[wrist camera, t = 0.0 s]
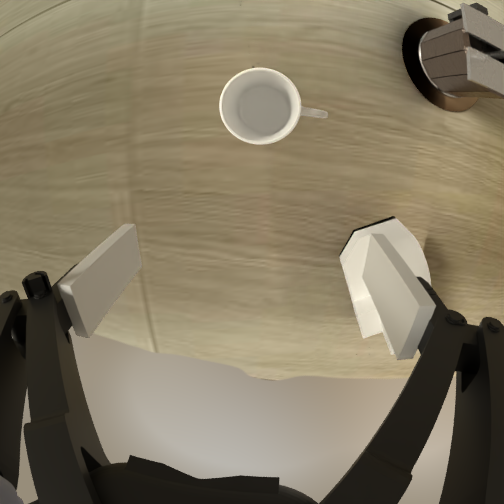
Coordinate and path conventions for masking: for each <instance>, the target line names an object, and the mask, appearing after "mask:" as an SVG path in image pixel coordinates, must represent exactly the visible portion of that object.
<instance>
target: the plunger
mask: <svg viewBox="0 0 504 504" xmlns="http://www.w3.org/2000/svg"><path fill="white" fill-rule="evenodd" d="M469 40H470V47H471V48H474V49H476V50H478V51H480V52H482V53H484V54H486V55H488V56H490V57H492V58H493V59H495V60H497V61H499V60H498V59H501V58H504V50H501V51H495V50H494V48H493V47H492V46H490V45H488V44H486V43H485V42H483V41H481V40H479V39H477V38H475V37H473V36H471V35H469Z"/></svg>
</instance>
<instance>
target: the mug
mask: <svg viewBox="0 0 504 504" xmlns="http://www.w3.org/2000/svg"><path fill="white" fill-rule="evenodd" d="M219 107H220V114H221V118H222V120H223V123H224V124H225V126H226V127H227V129H228V130H229V131H230V132H231V133H232V134H233V135H234V136H236V137H237V138H239V139H240V140H242V141H245V142H248V143H251V144H270V143H274V142H276V141H279V140H281V139H282V138H284V137H286V136H287V135H288V134H289V133H290V132H291V131H292V130H293V129H294V127H295V126H296V124H297V122H298V120H299V117H300V115H302V116H310V117H318V118H327V117H328V112H326V111H323V110H318V109H313V108H307V107H302V106H301V99H300V95H299V93H298V90H297V88H296V87H295V85H294V84H293V83H292V81H291V80H290V79H289V78H287V77H286V76H285V75H283V74H282V73H280V72H278V71H275V70H272V69H268V68H252V69H248V70H245V71H243V72H240V73H239V74H237V75H236V76H234V77H233V78H232V79H231V80H230V81H229V82H228V83H227V84H226V86H225V88H224V89H223V91H222V94H221V97H220V104H219Z"/></svg>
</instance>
